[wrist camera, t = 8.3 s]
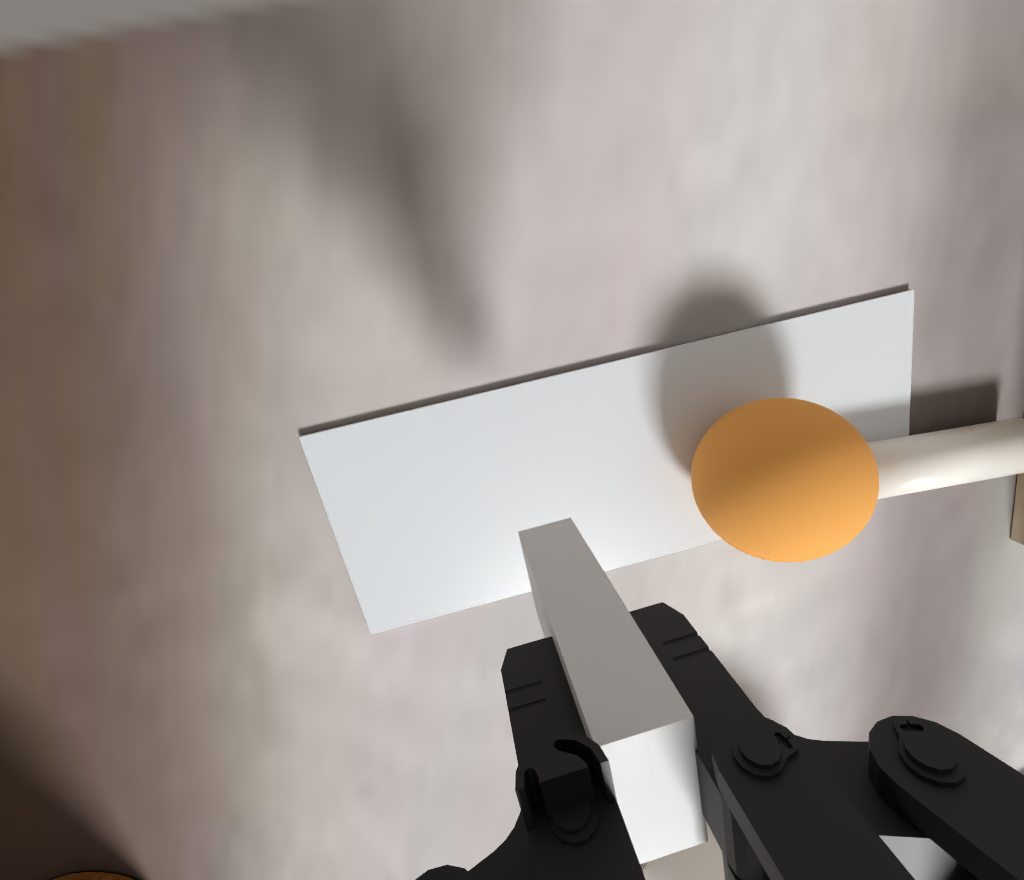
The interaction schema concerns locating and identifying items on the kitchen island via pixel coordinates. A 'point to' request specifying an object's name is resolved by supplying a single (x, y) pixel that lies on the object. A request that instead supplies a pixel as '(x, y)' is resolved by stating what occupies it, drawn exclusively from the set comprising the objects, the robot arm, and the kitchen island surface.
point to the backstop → (1018, 512)
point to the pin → (949, 457)
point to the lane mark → (582, 456)
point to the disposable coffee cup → (93, 876)
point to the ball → (785, 480)
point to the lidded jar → (689, 863)
